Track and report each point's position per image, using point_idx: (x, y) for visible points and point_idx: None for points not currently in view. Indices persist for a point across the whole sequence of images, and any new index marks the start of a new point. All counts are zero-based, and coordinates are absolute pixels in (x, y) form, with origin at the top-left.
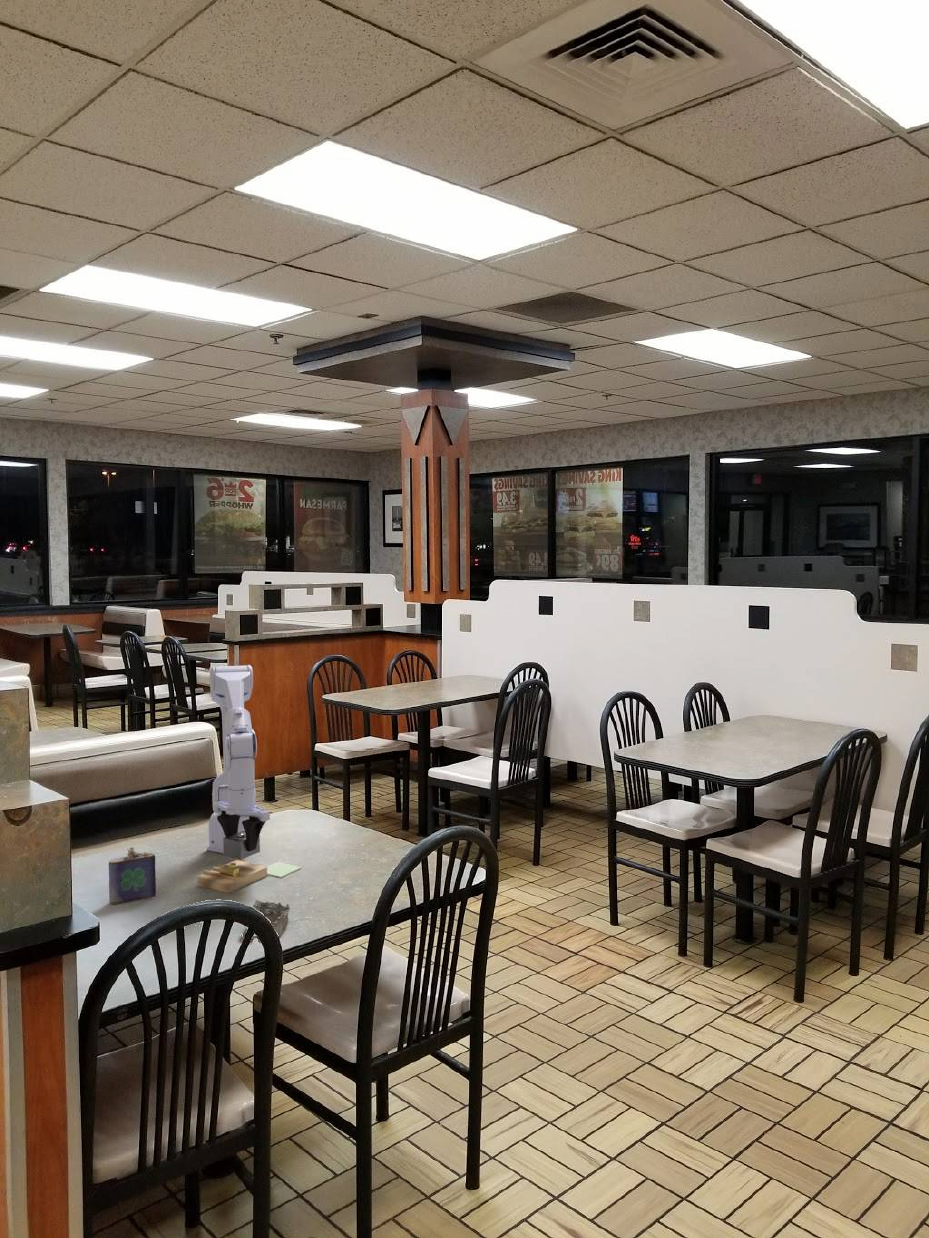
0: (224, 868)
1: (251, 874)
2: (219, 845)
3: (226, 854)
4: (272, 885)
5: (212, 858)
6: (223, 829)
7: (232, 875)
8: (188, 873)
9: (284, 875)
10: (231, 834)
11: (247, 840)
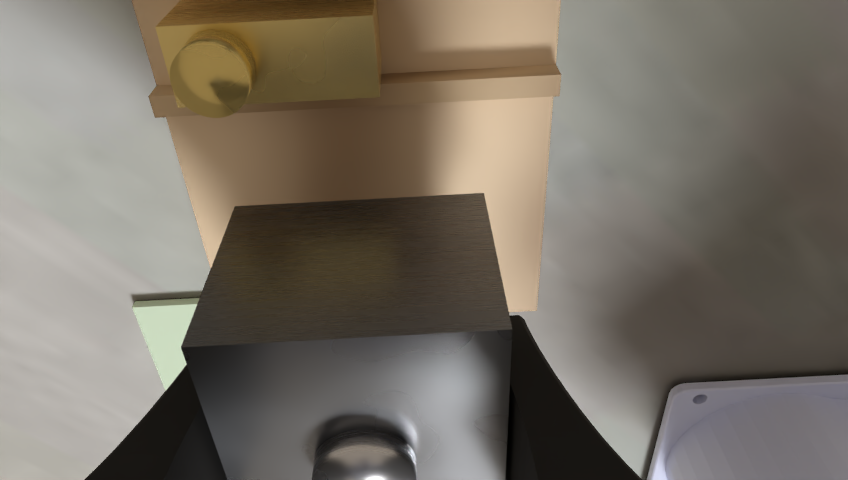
0: (297, 17)
1: (186, 175)
2: (845, 419)
3: (444, 207)
4: (43, 187)
5: (806, 304)
6: (605, 456)
7: (191, 6)
8: (821, 5)
9: (145, 332)
10: (514, 442)
11: (173, 414)
